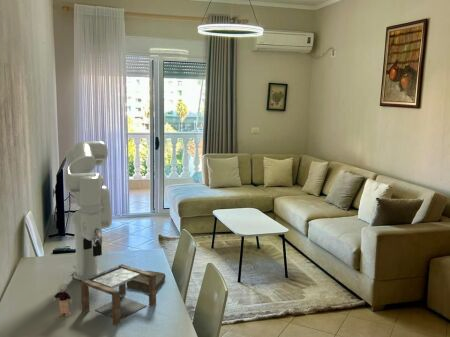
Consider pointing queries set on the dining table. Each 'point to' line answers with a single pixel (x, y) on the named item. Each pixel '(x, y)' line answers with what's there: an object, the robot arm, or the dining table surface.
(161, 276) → the marble piece
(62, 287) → the grandmother figurine
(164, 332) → the dining table surface
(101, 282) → the trapdoor plate
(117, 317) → the frame
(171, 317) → the dining table surface
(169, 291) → the dining table surface
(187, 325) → the dining table surface
